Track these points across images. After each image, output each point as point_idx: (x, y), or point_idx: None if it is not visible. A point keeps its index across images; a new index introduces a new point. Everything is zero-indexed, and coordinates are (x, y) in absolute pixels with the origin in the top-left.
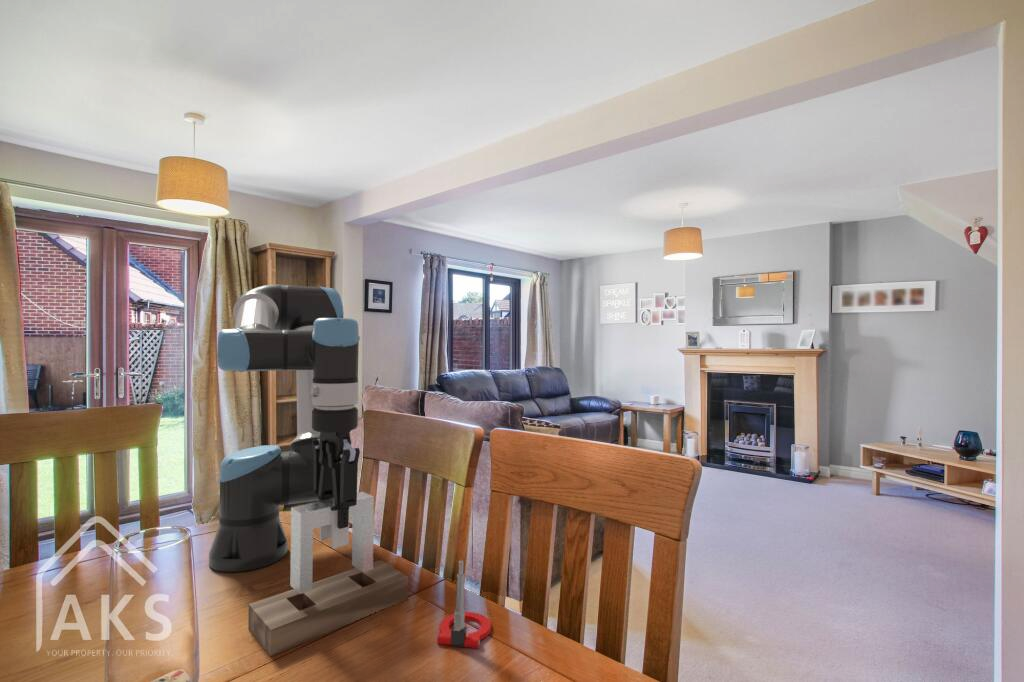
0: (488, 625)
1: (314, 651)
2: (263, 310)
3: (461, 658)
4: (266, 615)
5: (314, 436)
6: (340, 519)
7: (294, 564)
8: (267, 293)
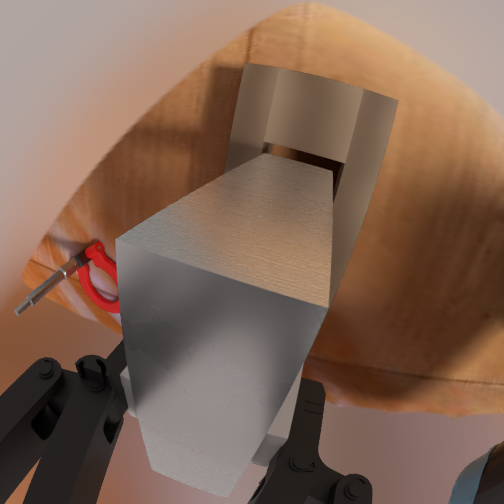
0: (87, 294)
1: (209, 126)
2: None
3: (72, 234)
4: (310, 87)
5: None
6: (119, 346)
7: (297, 176)
8: None
